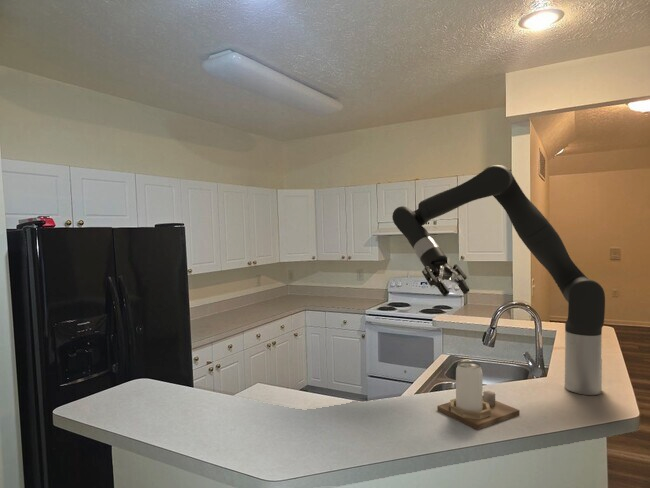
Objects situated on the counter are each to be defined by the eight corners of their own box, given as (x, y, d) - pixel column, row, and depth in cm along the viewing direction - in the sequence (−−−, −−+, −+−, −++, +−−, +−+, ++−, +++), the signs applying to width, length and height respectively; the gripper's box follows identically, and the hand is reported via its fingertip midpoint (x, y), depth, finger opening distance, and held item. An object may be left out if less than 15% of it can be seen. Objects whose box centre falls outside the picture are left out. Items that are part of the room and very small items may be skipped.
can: (484, 416, 106) (484, 369, 106) (457, 414, 107) (457, 367, 107) (480, 406, 112) (480, 361, 112) (454, 404, 114) (454, 359, 113)
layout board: (478, 397, 121) (478, 383, 121) (519, 414, 110) (519, 398, 109) (437, 410, 113) (437, 394, 113) (477, 429, 101) (477, 412, 101)
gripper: (419, 246, 131) (447, 287, 122) (451, 245, 139) (480, 284, 129) (407, 262, 136) (433, 303, 127) (439, 260, 143) (466, 299, 134)
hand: (457, 293), depth 128 cm, fingers open, 8 cm apart
